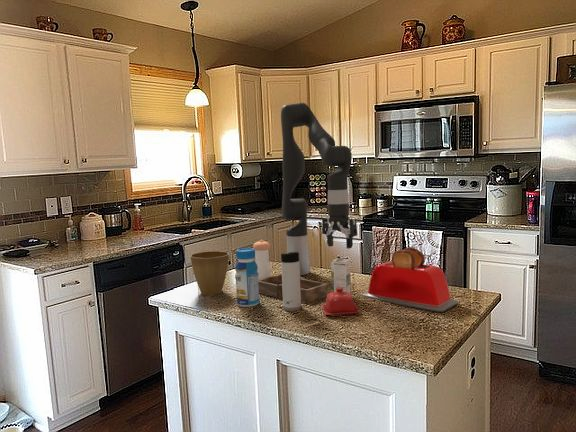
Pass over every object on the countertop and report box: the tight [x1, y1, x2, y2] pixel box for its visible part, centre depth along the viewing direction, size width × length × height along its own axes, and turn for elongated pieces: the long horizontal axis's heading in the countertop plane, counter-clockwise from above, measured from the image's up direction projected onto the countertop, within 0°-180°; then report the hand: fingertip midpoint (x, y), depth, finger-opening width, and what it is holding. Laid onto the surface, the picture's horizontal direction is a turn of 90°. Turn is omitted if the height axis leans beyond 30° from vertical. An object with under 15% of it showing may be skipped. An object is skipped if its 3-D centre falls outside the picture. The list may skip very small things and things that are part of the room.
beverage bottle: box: [234, 247, 260, 308], centre depth 173 cm, size 8×8×20 cm
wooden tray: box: [258, 273, 330, 305], centre depth 185 cm, size 15×26×5 cm, turn 45°
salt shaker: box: [252, 239, 272, 280], centre depth 199 cm, size 7×7×19 cm
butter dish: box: [321, 287, 360, 316], centre depth 161 cm, size 12×12×8 cm
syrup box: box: [330, 258, 352, 295], centre depth 175 cm, size 6×6×14 cm
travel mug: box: [280, 252, 302, 312], centre depth 166 cm, size 6×7×20 cm
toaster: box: [361, 246, 459, 313], centre depth 170 cm, size 32×13×19 cm, turn 47°
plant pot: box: [189, 250, 230, 297], centre depth 189 cm, size 15×15×16 cm
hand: (339, 247), depth 174 cm, fingers open, 8 cm apart
